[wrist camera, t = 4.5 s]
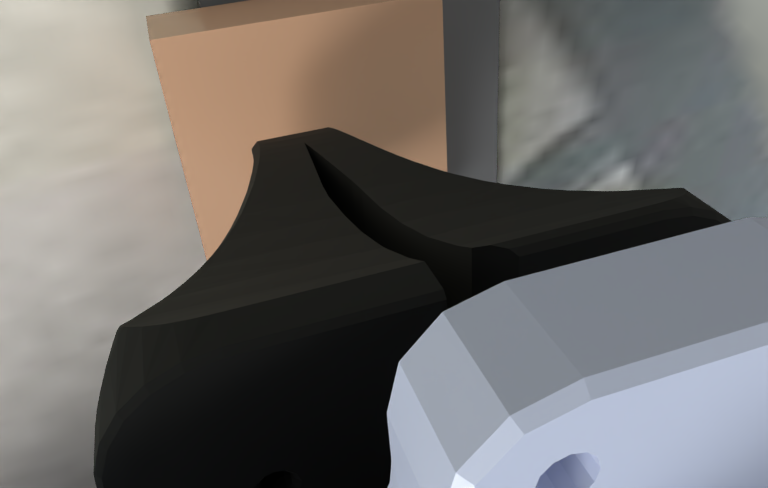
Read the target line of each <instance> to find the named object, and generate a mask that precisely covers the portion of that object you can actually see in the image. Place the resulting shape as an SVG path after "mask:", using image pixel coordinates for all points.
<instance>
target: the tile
mask: <svg viewBox="0 0 768 488" xmlns="http://www.w3.org/2000/svg"><path fill="white" fill-rule="evenodd" d="M146 19H147V26H148V33H149V40H150V44H151V48H152V51H153V55H154V59H155V63H156V67H157V71H158V74H159V78H160V82H161V86H162V90H163V94H164V98H165V101H166V105H167V109H168V113H169V117H170V121H171V124H172V128H173V132H174V136H175V140H176V144H177V148H178V151H179V155H180V159H181V163H182V167H183V171H184V174H185V178H186V182H187V186H188V190H189V194H190V197H191V201H192V205H193V209H194V213H195V217H196V221H197V224H198V228H199V232H200V236H201V240H202V244H203V247H204V251H205V255H206V259H207V260H208V259H209V258H210V257H211V256H212V255H213V253H214V252H215V251H216V250H217V248H218V247H219V246H220V244H221V243H222V241H223V240H224V238H225V236H226V235H227V233H228V232H229V230H230V228H231V226H232V225H233V223H234V221H235V219H236V217H237V215H238V212H239V210H240V207H241V205H242V203H243V200H244V198H245V195H246V192H247V189H248V186H249V182H250V178H251V174H252V170H253V163H254V160H253V154H252V148H253V146H254V145H255V143H256V142H257V141H261V140H266V139H271V138H276V137H281V136H286V135H291V134H296V133H301V132H307V131H312V130H317V129H322V128H327V127H330V128H334V129H337V130H340V131H342V132H344V133H347V134H349V135H351V136H354V137H356V138H358V139H361V140H363V141H365V142H367V143H370V144H372V145H374V146H377V147H379V148H381V149H384V150H386V151H388V152H391V153H393V154H396V155H398V156H401V157H404V158H406V159H409V160H411V161H414V162H417V163H420V164H423V165H426V166H429V167H432V168H435V169H438V170H442V171H445V172H447V143H446V108H445V74H444V39H443V5H442V0H248V1H241V2H235V3H228V4H222V5H215V6H209V7H202V8H196V9H189V10H183V11H176V12H170V13H163V14H157V15H151V16H146Z"/></svg>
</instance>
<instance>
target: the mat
mask: <svg viewBox="0 0 768 488" xmlns="http://www.w3.org/2000/svg"><path fill="white" fill-rule="evenodd" d="M241 1H248V0H198V3H199V7H200V8H202V7H209V6H215V5H222V4H228V3H235V2H241ZM442 5H443V39H444V74H445V108H446V143H447V172H449V173H453V174H457V175H461V176H465V177H470V178H474V179H479V180H483V181H488V182H494V183H497V125H498V68H499V10H500V0H442Z"/></svg>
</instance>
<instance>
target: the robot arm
mask: <svg viewBox="0 0 768 488" xmlns="http://www.w3.org/2000/svg"><path fill="white" fill-rule="evenodd" d="M252 154H253V160H254V163H253V170H252V174H251V178H250V182H249V186H248V189H247V192H246V195H245V198H244V200H243V203H242V205H241V207H240V210H239V212H238V215H237V217H236V219H235V221H234V223H233V225H232V226H231V228H230V230H229V232H228V233H227V235H226V236H225V238H224V240H223V241H222V243H221V244H220V246H219V247H218V248H217V250H216V251H215V252H214V253H213V255H212V256H211V257H210V258H209V259H208V260H207V262H206V263H205V264H204V265H203V266H202V267H201V268H200V269H199V270H198V271H197V272H196V273H195V274H194V275H193V276H192V277H190V278H189V279H188V280H187V281H186V282H185V283H183V284H182V285H181V286H180V287H179V288H177V289H176V290H175V291H174V292H172V293H171V294H170V295H168V296H167V297H166V298H164V299H163V300H161V301H160V302H158V303H157V304H155V305H154V306H152V307H150V308H149V309H147V310H146V311H144V312H142V313H141V314H139V315H138V316H136V317H135V318H133V319H131V320H130V321H128V322H126V323H124V324H123V325H121V326H120V327H119V328H118V330H117V332H116V335H115V338H114V341H113V344H112V348H111V351H110V355H109V358H108V362H107V365H106V369H105V374H104V378H103V382H102V387H101V391H100V396H99V401H98V407H97V414H96V423H95V448H94V478H95V482H96V486H97V488H768V217H747V218H743V219H739V220H735V221H731V220H729V219H728V218H726V217H725V216H723V215H722V214H720V213H719V212H717V211H716V210H715V209H713V208H712V207H710V206H709V205H707V204H706V203H704V202H703V201H701V200H700V199H699V198H697V197H696V196H694V195H693V194H691V193H690V192H688V191H687V190H685V189H684V188H671V189H651V190H631V191H566V190H551V189H538V188H530V187H522V186H514V185H506V184H500V183H494V182H488V181H483V180H479V179H474V178H470V177H465V176H461V175H457V174H453V173H449V172H445V171H442V170H438V169H435V168H432V167H429V166H426V165H423V164H420V163H417V162H414V161H411V160H409V159H406V158H404V157H401V156H398V155H396V154H393V153H391V152H388V151H386V150H384V149H381V148H379V147H377V146H374V145H372V144H370V143H367V142H365V141H363V140H361V139H358V138H356V137H354V136H351V135H349V134H347V133H344V132H342V131H340V130H337V129H334V128H330V127H327V128H322V129H317V130H312V131H307V132H301V133H296V134H291V135H286V136H281V137H276V138H271V139H266V140H261V141H257V142H256V143H255V145H254V146H253V148H252Z"/></svg>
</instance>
